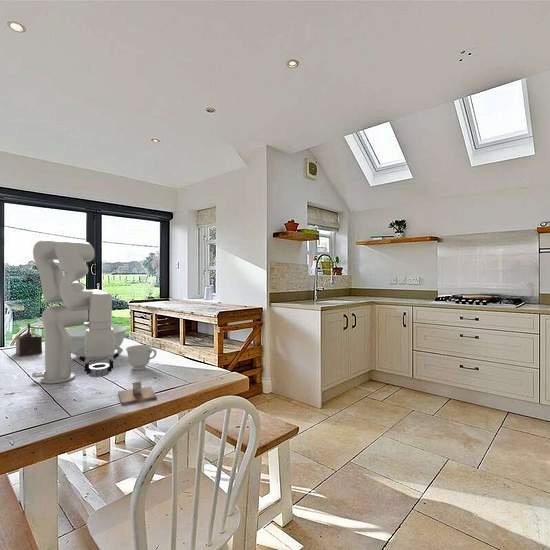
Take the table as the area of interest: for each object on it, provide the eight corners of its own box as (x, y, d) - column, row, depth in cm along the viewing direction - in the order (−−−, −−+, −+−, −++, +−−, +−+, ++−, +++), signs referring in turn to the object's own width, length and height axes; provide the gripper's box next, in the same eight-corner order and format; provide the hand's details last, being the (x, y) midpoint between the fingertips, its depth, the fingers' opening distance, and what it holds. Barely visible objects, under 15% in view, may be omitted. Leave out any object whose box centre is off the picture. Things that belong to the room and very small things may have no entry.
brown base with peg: (121, 405, 123) (121, 389, 123) (118, 394, 133) (118, 379, 133) (156, 399, 129) (156, 384, 128) (150, 388, 139) (150, 375, 139)
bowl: (69, 351, 197) (69, 325, 197) (130, 347, 206) (130, 323, 206) (50, 367, 166) (49, 337, 166) (123, 362, 175) (123, 334, 175)
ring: (88, 378, 126) (88, 370, 126) (88, 371, 132) (88, 364, 132) (109, 375, 129) (110, 367, 129) (108, 369, 135) (108, 362, 135)
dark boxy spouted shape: (19, 357, 183) (19, 323, 183) (15, 353, 191) (15, 320, 190) (53, 352, 195) (53, 320, 194) (48, 348, 202) (47, 317, 202)
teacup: (149, 373, 158) (149, 351, 158) (120, 371, 161) (120, 349, 161) (162, 366, 170) (162, 345, 170) (135, 364, 173) (135, 344, 173)
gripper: (73, 328, 122) (72, 378, 123) (126, 326, 131) (125, 372, 132) (73, 324, 129) (72, 371, 130) (124, 322, 137) (123, 366, 138)
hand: (99, 371), depth 131 cm, fingers closed on ring, 7 cm apart
